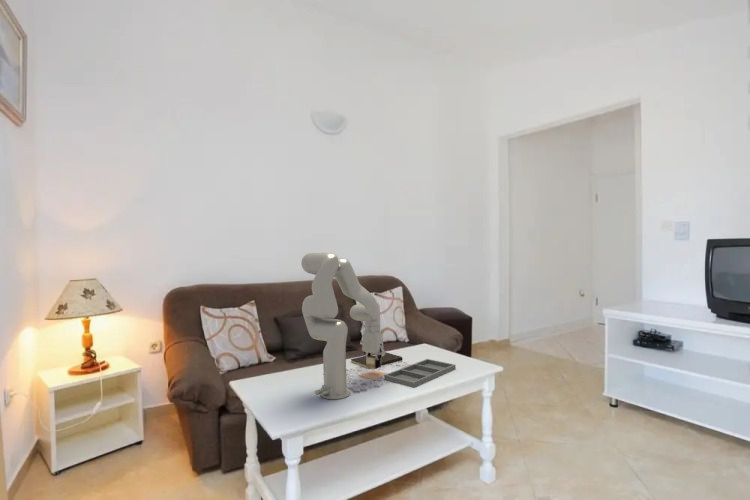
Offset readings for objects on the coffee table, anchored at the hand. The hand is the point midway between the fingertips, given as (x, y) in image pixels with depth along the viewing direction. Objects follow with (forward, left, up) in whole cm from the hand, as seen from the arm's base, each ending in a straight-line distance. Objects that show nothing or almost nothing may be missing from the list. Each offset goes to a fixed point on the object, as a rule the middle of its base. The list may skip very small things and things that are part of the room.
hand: (373, 366), depth 197 cm
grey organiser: (+15, -17, -5) cm, 23 cm away
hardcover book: (+19, +15, -5) cm, 25 cm away
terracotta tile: (0, 0, -5) cm, 5 cm away
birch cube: (0, 0, -1) cm, 1 cm away
